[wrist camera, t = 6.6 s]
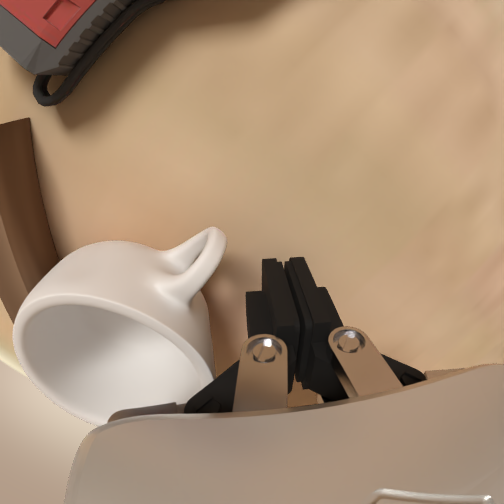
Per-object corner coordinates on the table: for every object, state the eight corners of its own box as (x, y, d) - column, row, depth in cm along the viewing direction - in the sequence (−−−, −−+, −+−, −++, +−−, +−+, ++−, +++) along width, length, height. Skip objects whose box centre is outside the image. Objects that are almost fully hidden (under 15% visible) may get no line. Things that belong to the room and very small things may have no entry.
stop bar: (29, 117, 9) (-16, 128, 6) (111, 383, 17) (101, 420, 14) (-1, 128, 9) (-44, 142, 6) (86, 380, 16) (74, 416, 14)
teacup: (157, 368, 16) (144, 449, 11) (45, 293, 13) (-1, 366, 8) (288, 257, 13) (321, 349, 8) (148, 134, 10) (86, 166, 5)
